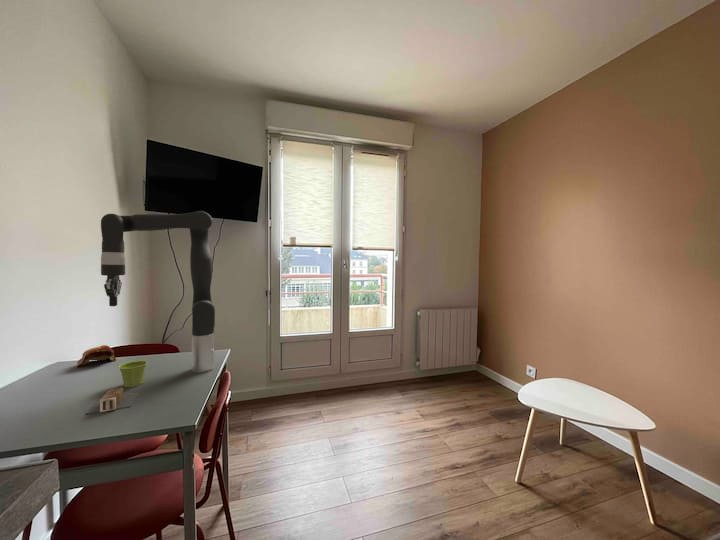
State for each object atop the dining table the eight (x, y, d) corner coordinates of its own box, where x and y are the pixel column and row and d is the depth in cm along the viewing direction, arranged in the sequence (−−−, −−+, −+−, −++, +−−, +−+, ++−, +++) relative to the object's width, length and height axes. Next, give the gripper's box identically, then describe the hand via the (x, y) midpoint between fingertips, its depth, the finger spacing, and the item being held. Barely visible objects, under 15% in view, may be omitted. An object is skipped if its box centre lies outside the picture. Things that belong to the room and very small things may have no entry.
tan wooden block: (115, 409, 98) (123, 398, 106) (115, 398, 98) (123, 387, 106) (100, 412, 96) (109, 400, 104) (100, 400, 96) (109, 389, 104)
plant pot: (116, 384, 118) (116, 364, 118) (144, 378, 125) (144, 358, 125) (120, 392, 112) (120, 370, 112) (149, 384, 119) (149, 364, 119)
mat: (139, 392, 111) (139, 391, 111) (130, 406, 101) (130, 405, 101) (99, 398, 106) (99, 397, 106) (85, 414, 95) (85, 413, 95)
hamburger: (116, 358, 150) (116, 339, 150) (119, 365, 141) (119, 344, 141) (74, 366, 139) (74, 345, 139) (73, 373, 130) (73, 351, 130)
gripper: (119, 263, 112) (119, 307, 112) (129, 263, 124) (129, 303, 124) (94, 263, 109) (95, 308, 109) (107, 263, 120) (107, 304, 121)
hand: (113, 305), depth 117 cm, fingers closed
